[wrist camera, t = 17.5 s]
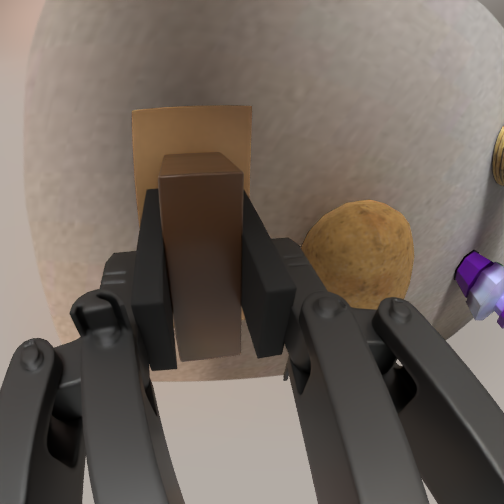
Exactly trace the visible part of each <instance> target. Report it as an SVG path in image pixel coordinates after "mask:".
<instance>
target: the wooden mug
mask: <svg viewBox="0 0 504 504" xmlns="http://www.w3.org/2000/svg"><path fill="white" fill-rule="evenodd" d="M492 166H493V175H494V179H495V181H496V182H497V183H498V184H499V185H502V186H504V126H503V128H502V129H501V131H500V133H499V135H498V138H497V141H496V144H495V149H494V154H493V163H492Z"/></svg>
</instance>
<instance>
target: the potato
mask: <svg viewBox="0 0 504 504" xmlns="http://www.w3.org/2000/svg"><path fill="white" fill-rule="evenodd" d="M301 249H302V251H303V252H304V254H305V256H306V257H307V259H308V260H309V262H310V264H311V265H312V267H313V268H314V270H315V271H316V273H317V275H318V276H319V278H320V279H321V281H322V283H323V284H324V286H325V287H326V289H327V291H328V292H332V293H334V294H337V295H339V296H341V297H342V298H344V299H345V300H346V301H347V303H348V304H349V305H350V307H353V308H362V309H375V310H377V308H378V306H379V304H380V302H381V301H382V300H383V299H385V298H389V297H397V298H401V299H404V298H405V295H406V292H407V290H408V287H409V284H410V279H411V274H412V268H413V262H414V247H413V238H412V234H411V229H410V224H409V223H408V221H407V220H406V219H405V217H404V216H403V215H402V214H401V213H400V212H398V211H397V210H395V209H393V208H392V207H390V206H388V205H387V204H385V203H381V202H377V201H373V200H363V201H356V202H349V203H345V204H344V205H342V206H340V207H338V208H336V209H334V210H332V211H331V212H329V213H327V214H325V215H323V216H322V218H321V219H320V220H319V221H318V222H317V223H316V224H315V225H314V226H313V228H312V229H311V230H310V231H309V232H308V234H307V236H306V238H305V240H304V243H303V245H302V247H301Z"/></svg>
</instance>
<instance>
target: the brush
mask: <svg viewBox="0 0 504 504" xmlns="http://www.w3.org/2000/svg"><path fill="white" fill-rule="evenodd" d="M251 125H252V106H234V105H211V106H180V107H163V108H151V109H140V110H133V111H132V141H133V161H134V176H135V189H136V200H137V210H138V219H139V228H140V224H141V218H142V212H143V206H144V201H145V196H146V190H147V189H157V188H158V190H159V204H160V217H161V228H162V238H163V244H164V253H165V262H166V270H167V278H168V286H169V293H170V300H171V307H172V313H173V327H174V329H175V334H176V340H177V346H178V351H179V357H180V360H181V362H185V361H195V360H204V359H213V358H221V357H228V356H235V355H240V354H241V320H246V319H245V316H244V313H243V309H242V306H241V299H242V232H243V191H244V190H245V192H246V194H247V196H248V197H249V195H250V159H251Z"/></svg>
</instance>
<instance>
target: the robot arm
mask: <svg viewBox="0 0 504 504" xmlns="http://www.w3.org/2000/svg"><path fill="white" fill-rule="evenodd" d="M241 306H242V309H243V313H244V316H245V319H246V323H247V326H248V329H249V332H250V336H251V339H252V342H253V345H254V348H255V352H256V355H257V358H264V357H270V356H275V355H281V354H282V352H283V348H284V343H285V346H286V348H287V351H288V353H289V357H288V361H287V364H286V368H285V372H284V381H286V380H287V379H288V376H289V377H290V381H291V385H292V390H293V394H294V398H295V403H296V407H297V412H298V416H299V421H300V425H301V429H302V434H303V438H304V443H305V447H306V451H307V456H308V460H309V464H310V469H311V474H312V478H313V483H314V487H315V492H316V496H317V501H318V504H429V501H428V498H427V495H426V491H425V488H424V485H423V482H422V480H423V481H424V483H425V484H426V486H427V487H428V489H429V490H430V492H431V494H432V495H433V497H434V498H435V500H436V501H437V503H438V504H504V413H503V411H502V410H501V409H500V407H499V406H498V405H497V403H496V402H495V401H494V399H493V398H492V397H491V395H490V394H489V393H488V391H487V390H486V389H485V388H484V386H483V385H482V384H481V383H480V381H479V380H478V379H477V378H476V376H475V375H474V374H473V373H472V372H471V370H470V369H469V368H468V367H467V365H466V364H465V363H464V362H463V361H462V359H461V358H460V357H459V356H458V355H457V354H456V352H455V351H454V350H453V349H452V348H451V347H450V345H449V344H448V343H447V342H446V341H445V340H444V338H443V337H442V336H441V335H440V334H439V333H438V332H437V331H436V329H435V328H434V327H433V326H432V325H431V324H430V323H429V322H428V321H427V320H426V318H425V317H424V316H423V315H422V314H421V313H420V312H419V311H418V310H417V309H416V308H415V307H414V306H413V305H412V304H411V303H409V302H408V301H406V300H404V299H401V298H397V297H389V298H385V299H383V300H382V301H381V302H380V304H379V306H378V308H377V310H375V309H362V308H353V307H350V305H349V304H348V303H347V301H346V300H345V299H344V298H342V297H341V296H339V295H337V294H334V293H332V292H328V291H327V289H326V287H325V286H324V284H323V283H322V281H321V279H320V278H319V276H318V275H317V273H316V271H315V270H314V268H313V267H312V265H311V264H310V262H309V260H308V259H307V257H306V256H305V254H304V252H303V251H302V249H301V248H300V246H299V245H298V244H296V243H295V242H294V241H292V240H291V239H289V238H276V239H271V238H270V236H269V234H268V232H267V230H266V229H265V227H264V225H263V223H262V221H261V219H260V218H259V216H258V214H257V212H256V210H255V208H254V206H253V205H252V203H251V201H250V199H249V197H248V196H247V194H246V192H245V190H244V191H243V232H242V299H241ZM70 315H71V318H72V320H73V322H74V324H75V326H76V328H77V330H78V332H79V334H80V336H81V337H80V338H79V339H77V340H75V341H72V342H70V343H67V344H64V345H61V346H58V347H55V348H53V346H52V345H51V344H50V343H49V342H48V341H47V340H44V339H41V338H33V339H30V340H28V341H25V342H24V343H22V344H21V345H20V346H19V347H18V348H17V349H16V351H15V353H14V354H13V357H12V359H11V362H10V364H9V367H8V370H7V372H6V375H5V378H4V381H3V384H2V387H1V390H0V504H82V494H83V479H84V468H85V458H86V457H87V464H88V471H89V477H90V483H91V488H92V493H93V498H94V502H95V504H185V502H184V499H183V496H182V493H181V490H180V487H179V484H178V481H177V478H176V475H175V472H174V468H173V465H172V462H171V458H170V455H169V451H168V447H167V444H166V440H165V436H164V432H163V429H162V424H161V420H160V416H159V411H158V407H157V402H156V398H155V393H154V388H153V385H152V382H151V380H150V374H149V364H150V367H151V370H152V371H157V370H170V369H177V361H176V351H175V339H174V327H173V313H172V307H171V300H170V293H169V286H168V278H167V270H166V262H165V253H164V244H163V238H162V228H161V217H160V204H159V190H158V188H157V189H147V190H146V196H145V201H144V206H143V212H142V218H141V224H140V231H139V237H138V244H137V251H131V252H120V253H113V255H112V256H111V257H110V258H109V259H108V261H107V262H106V264H105V268H104V272H103V276H102V281H101V285H100V289H97V290H94V291H90V292H87V293H86V294H84V295H82V296H81V297H79V298H78V299H77V300H76V302H75V303H74V304H73V305H72V308H71V311H70ZM397 359H398V360H399V361H400V362H401V364H402V365H403V366H399V365H398V364H397V363H396V360H397ZM421 478H422V479H421Z"/></svg>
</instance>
